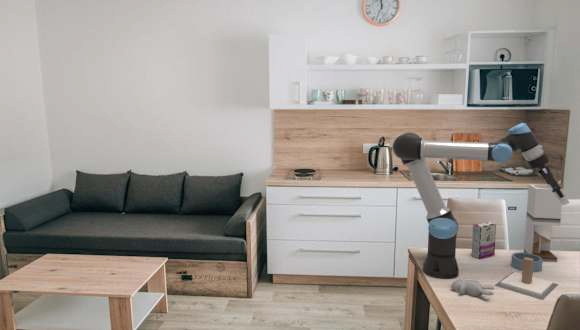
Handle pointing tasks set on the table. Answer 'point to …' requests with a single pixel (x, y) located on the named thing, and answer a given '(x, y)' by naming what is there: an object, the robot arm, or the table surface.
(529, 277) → the cream lid
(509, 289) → the rubber mat
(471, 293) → the bunny figurine
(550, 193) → the display case
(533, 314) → the table surface
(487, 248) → the candy bar box
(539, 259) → the slate bowl
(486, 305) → the table surface
